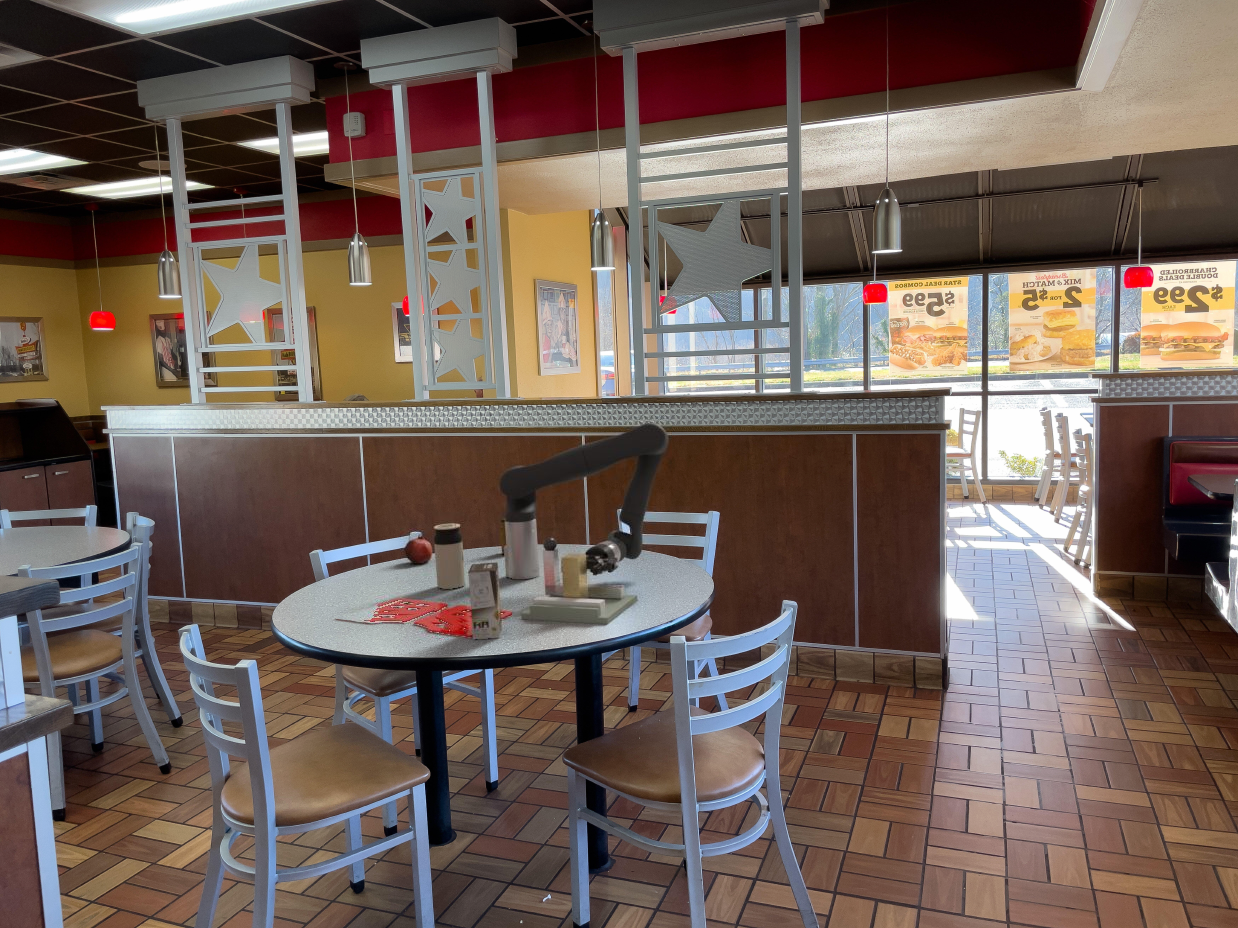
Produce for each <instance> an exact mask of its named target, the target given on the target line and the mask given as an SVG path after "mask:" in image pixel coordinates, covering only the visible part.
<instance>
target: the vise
mask: <svg viewBox="0 0 1238 928" xmlns="http://www.w3.org/2000/svg"><path fill="white" fill-rule="evenodd" d="M532 600H533V602H532V604H531V605H529V608H527V609H526V610H524V611H522V612H521V613H520V614H521V620H534V621H551V622H567V623H568V622H569V623H581V624H582V623H583V624H588V623H589V624H599V625H600V624H603V625H609V624H610V623H612V621H613V620H615V619H616V618H618V617H619V616H620V615H622V614H623V613H624V612H625V611H626V610H628V609H629V608H630V607H632V605H634V604H635V603H636V602H638V594H636V595H635V594H625V596H624V597H623V598H622V599H617V598H596V597H588V599H580V598H564V596H554V595H548V596H537V597H536V598H533V599H532Z"/></svg>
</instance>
